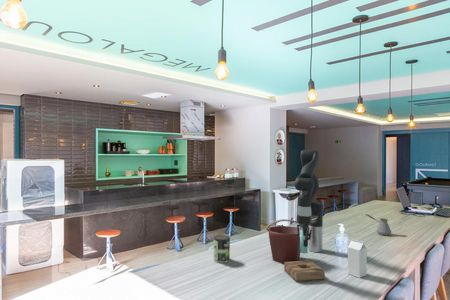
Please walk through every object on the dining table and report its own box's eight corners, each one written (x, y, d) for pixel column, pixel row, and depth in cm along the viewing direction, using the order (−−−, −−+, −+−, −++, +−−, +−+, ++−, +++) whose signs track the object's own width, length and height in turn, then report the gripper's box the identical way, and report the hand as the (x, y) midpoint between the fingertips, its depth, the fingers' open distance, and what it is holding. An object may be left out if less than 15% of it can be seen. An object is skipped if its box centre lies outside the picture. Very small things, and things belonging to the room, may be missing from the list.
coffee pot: (393, 234, 259) (393, 216, 259) (388, 237, 251) (388, 218, 251) (367, 229, 275) (368, 213, 275) (362, 231, 267) (362, 214, 267)
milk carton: (359, 278, 166) (359, 242, 166) (347, 274, 172) (347, 239, 172) (366, 275, 170) (366, 240, 170) (354, 271, 176) (354, 237, 176)
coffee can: (232, 259, 194) (233, 236, 194) (224, 263, 185) (224, 240, 186) (219, 256, 200) (219, 234, 200) (210, 260, 191) (210, 237, 191)
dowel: (298, 251, 171) (299, 229, 171) (305, 250, 172) (305, 229, 172) (302, 253, 167) (302, 231, 167) (308, 253, 168) (309, 231, 168)
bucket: (306, 256, 201) (307, 218, 201) (303, 268, 180) (303, 225, 180) (269, 252, 209) (270, 215, 209) (262, 262, 188) (262, 221, 189)
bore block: (284, 270, 175) (284, 262, 175) (310, 269, 178) (310, 260, 178) (296, 282, 160) (296, 272, 160) (324, 280, 163) (324, 270, 163)
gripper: (292, 212, 176) (292, 242, 175) (303, 217, 162) (303, 249, 162) (304, 211, 177) (304, 241, 177) (316, 216, 163) (316, 249, 163)
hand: (303, 245), depth 169 cm, fingers closed on dowel, 4 cm apart
